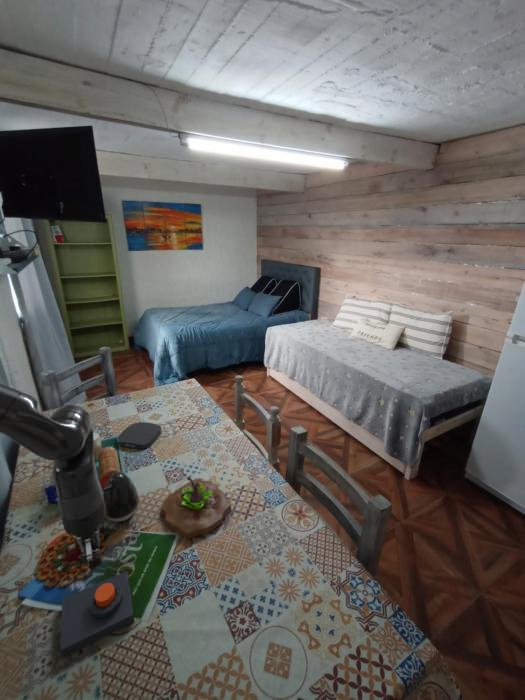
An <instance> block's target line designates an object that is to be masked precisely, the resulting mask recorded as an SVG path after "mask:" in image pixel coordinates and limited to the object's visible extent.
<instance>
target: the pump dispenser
mask: <svg viewBox="0 0 525 700" xmlns="http://www.w3.org/2000/svg"><path fill="white" fill-rule="evenodd" d="M102 493H103V498H104V503H105V508H106V516H105V517H107V518H108V519H109V520H110V521H112V522H118V523H119V522H123V521H127V520H128V519H130V518H131V517H132V516H134V514H135V513H136V512H137V509H138V506H139V504H140V497H139V496H140V495H139V492H138V490H137V487H136V485H135V483H134V482H133V480H132V479H131V478H130V477H129V476H128V475H127V474H126V473H125V472H121V471H116V472H115V473H112V474H111V475H110V476H109V477H108V478H107V480H106V483H105V486H104V487H103V488H102Z"/></svg>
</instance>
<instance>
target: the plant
mask: <svg viewBox="0 0 525 700" xmlns="http://www.w3.org/2000/svg"><path fill="white" fill-rule="evenodd" d="M186 480H187V481H188V482H187V483H185V484H183V485H181V486H180V487H179V488H177V489H175V490H174V491H173V492H172V493H170V494H168V495H167V497H166V498H165V499H164V501H163V502H162V506H161V507H160V514H161V515H162V516H164V523H165V525H166V527H168V528H170V529H171V530H173V531H174V532H176V533H177V534H179V535H180V536H182V537H183V538H185V539H187V540H190V539H192V538H194V537H198V536H204V535H206V534H208V533H211V532H212V531H213V530H214V529H216V528H217V527H219V526H220V525H221V524H222V523H223V520H224V518H225V517H226V516H227V515H228V514H229V513H230V512H231V511H232V505H231V502H230V500H229V499H228V497H227V496H226V494H225V492H224V491H223V490H222V489H220V488H219V484H216V483H214V482H213V481H212V480H211V479H210V480H203V478H194V479H192V477H191V476H189V475H188V476H187V478H186Z"/></svg>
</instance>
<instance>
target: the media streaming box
mask: <svg viewBox="0 0 525 700" xmlns="http://www.w3.org/2000/svg"><path fill="white" fill-rule="evenodd" d="M161 434H162V427H161V426H160V425H159V424H157V423H152V422H145V421H142V422H141V421H140V422H134V423H131V424H130V425H128V426H126V428H124V429H123V431H121V433H120V434H119V435H118V437H117V442H118V441H119V443H118V445H119V444H120V445H119V446H120V447H126V448H130V449H140V450H142V449H147V448H149V447H150V446H152V445H153V444H154V442H155V441H156V440H157V439H158V437H160V435H161Z"/></svg>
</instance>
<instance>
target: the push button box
mask: <svg viewBox="0 0 525 700" xmlns="http://www.w3.org/2000/svg"><path fill="white" fill-rule="evenodd" d="M105 583H111V584H113V586H114V589H115V598H114V600H113V601H112V603H111V604H109V605H108V606H106V607H98V606H97V604H96V600H95V593H96V591H97V589H98V588H99V587H100V586H101V585H103V584H105ZM61 602H62V603H61V618H60V619H61V622H60V643H59V644H60V645H59V652H60V655H61V658H62V659H64V658H67V657H68V656H70V655H73V654H75V653H76V652H78V651H80V650H83V649H84V648H87V647H88V646H90V645H92V644H95V643H96V642H98V641H100V640H102V639H104V638H106V637H108V636H110V635H112V634H114V633H116V632H117V631H120V630H123V628H126V627H128V626H129V625H131V624H133V623H135V621H136V620H135V615H134V607H133V601H132V593H131V585H130V579H129V574H128V571H127V570H125V571H123V572H121V573H119V574H116V575H114V576H112V577H109V578H107V579H105V580H103V581H100V582H98V583H95V584H92V585H90V586H89V587H87V588H84V589H82V590H79V591H77V592H75V593H73V594H70V595H68V596H66V597H63V598H62V599H61Z"/></svg>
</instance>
